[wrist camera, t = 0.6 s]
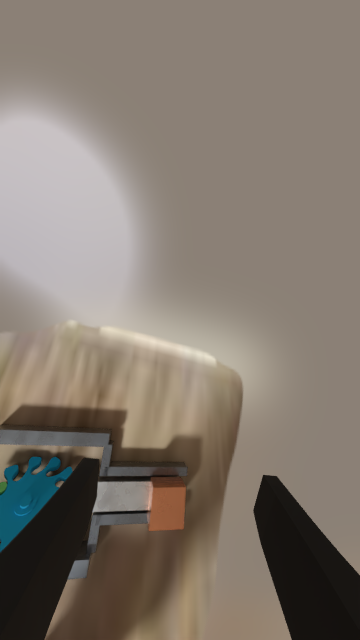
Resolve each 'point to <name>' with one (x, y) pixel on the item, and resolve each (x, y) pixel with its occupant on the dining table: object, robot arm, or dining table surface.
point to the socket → (108, 468)
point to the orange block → (144, 498)
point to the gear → (26, 496)
